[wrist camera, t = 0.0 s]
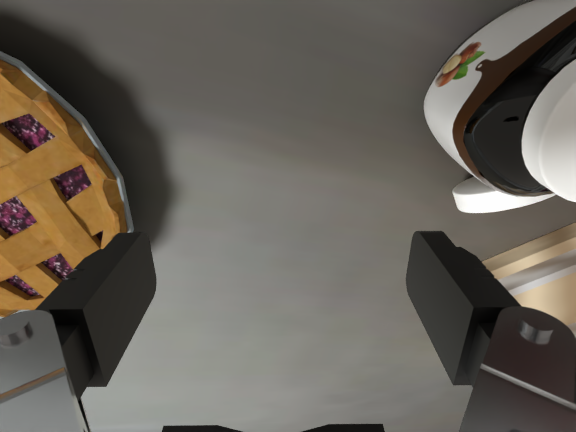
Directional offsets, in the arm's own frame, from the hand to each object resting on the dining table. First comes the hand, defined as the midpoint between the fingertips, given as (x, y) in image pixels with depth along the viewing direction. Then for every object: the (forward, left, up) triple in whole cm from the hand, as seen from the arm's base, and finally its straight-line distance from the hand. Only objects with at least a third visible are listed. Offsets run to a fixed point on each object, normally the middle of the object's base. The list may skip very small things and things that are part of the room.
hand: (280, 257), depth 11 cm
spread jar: (0, +15, -17) cm, 23 cm away
